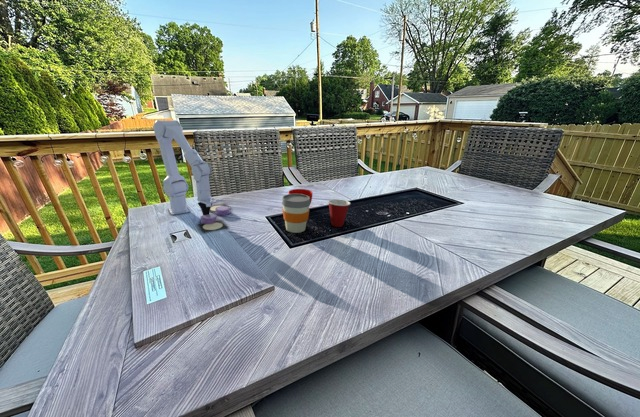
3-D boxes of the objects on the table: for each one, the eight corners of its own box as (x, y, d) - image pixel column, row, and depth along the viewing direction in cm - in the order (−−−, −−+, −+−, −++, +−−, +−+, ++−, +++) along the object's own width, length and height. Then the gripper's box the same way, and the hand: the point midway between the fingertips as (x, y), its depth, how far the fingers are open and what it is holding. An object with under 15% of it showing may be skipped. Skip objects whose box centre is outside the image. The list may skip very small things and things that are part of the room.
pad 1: (206, 207, 141) (206, 206, 141) (224, 204, 147) (224, 204, 147) (211, 212, 133) (211, 212, 133) (230, 209, 139) (230, 209, 139)
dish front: (199, 220, 123) (198, 215, 123) (214, 217, 127) (214, 212, 127) (203, 225, 118) (202, 220, 117) (218, 222, 122) (218, 217, 121)
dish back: (213, 211, 135) (213, 207, 134) (227, 209, 139) (227, 205, 138) (218, 216, 129) (217, 211, 129) (232, 213, 133) (231, 209, 133)
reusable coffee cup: (276, 228, 120) (276, 196, 115) (296, 221, 128) (297, 191, 123) (294, 237, 112) (295, 203, 107) (315, 229, 121) (316, 198, 116)
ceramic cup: (280, 213, 138) (280, 195, 134) (295, 204, 153) (295, 187, 149) (302, 217, 133) (303, 199, 130) (315, 207, 148) (316, 191, 145)
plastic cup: (351, 223, 130) (353, 200, 126) (344, 230, 120) (346, 206, 116) (331, 218, 134) (332, 196, 130) (322, 226, 124) (324, 202, 120)
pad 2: (198, 224, 119) (198, 224, 119) (220, 220, 125) (220, 220, 125) (204, 232, 111) (204, 232, 111) (227, 227, 117) (227, 227, 117)
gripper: (216, 192, 118) (219, 220, 123) (208, 185, 129) (210, 210, 134) (200, 194, 114) (203, 222, 119) (192, 186, 125) (195, 213, 130)
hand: (206, 216), depth 126 cm, fingers closed
